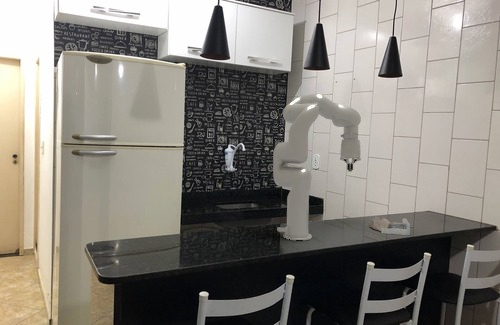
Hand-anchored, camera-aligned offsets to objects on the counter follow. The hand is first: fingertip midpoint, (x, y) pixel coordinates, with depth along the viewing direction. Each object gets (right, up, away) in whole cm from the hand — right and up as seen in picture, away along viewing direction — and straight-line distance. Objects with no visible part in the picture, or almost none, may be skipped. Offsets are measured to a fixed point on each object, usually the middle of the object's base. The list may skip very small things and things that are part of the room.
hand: (350, 171), depth 213 cm
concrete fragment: (+11, -29, -16) cm, 35 cm away
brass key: (+21, -28, -6) cm, 35 cm away
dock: (+16, -28, -19) cm, 38 cm away
